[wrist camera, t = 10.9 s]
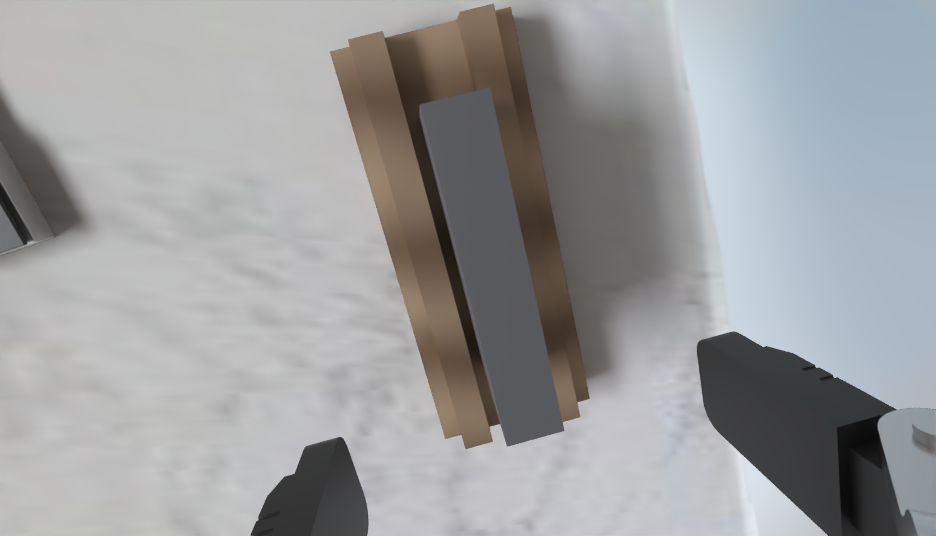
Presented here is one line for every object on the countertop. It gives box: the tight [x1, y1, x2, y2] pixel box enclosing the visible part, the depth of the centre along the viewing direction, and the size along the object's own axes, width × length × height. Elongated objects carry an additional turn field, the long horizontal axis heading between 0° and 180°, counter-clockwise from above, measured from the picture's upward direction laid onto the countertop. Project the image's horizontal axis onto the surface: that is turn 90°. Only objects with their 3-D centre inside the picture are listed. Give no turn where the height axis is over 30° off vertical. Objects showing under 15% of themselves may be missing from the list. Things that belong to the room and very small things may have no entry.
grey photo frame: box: [419, 87, 564, 446], centre depth 22 cm, size 14×2×8 cm, turn 14°
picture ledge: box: [330, 4, 590, 449], centre depth 27 cm, size 22×9×4 cm, turn 14°
